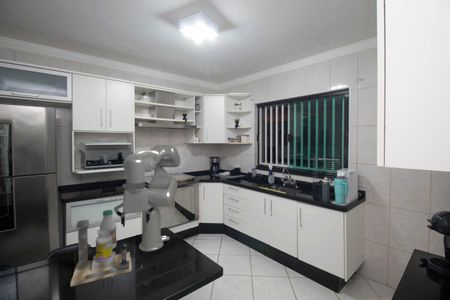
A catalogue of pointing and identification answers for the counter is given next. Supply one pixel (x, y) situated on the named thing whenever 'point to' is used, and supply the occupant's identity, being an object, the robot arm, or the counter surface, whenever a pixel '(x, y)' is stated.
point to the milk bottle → (109, 225)
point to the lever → (123, 256)
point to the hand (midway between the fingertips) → (135, 223)
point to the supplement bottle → (104, 246)
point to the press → (94, 261)
